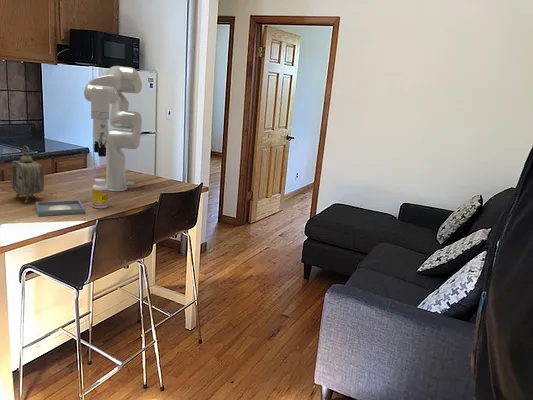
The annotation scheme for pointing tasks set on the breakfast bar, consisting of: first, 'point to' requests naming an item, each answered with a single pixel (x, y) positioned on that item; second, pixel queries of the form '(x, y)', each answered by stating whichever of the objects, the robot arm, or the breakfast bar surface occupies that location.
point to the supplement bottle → (100, 194)
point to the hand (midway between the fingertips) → (99, 154)
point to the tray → (59, 208)
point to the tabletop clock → (27, 176)
